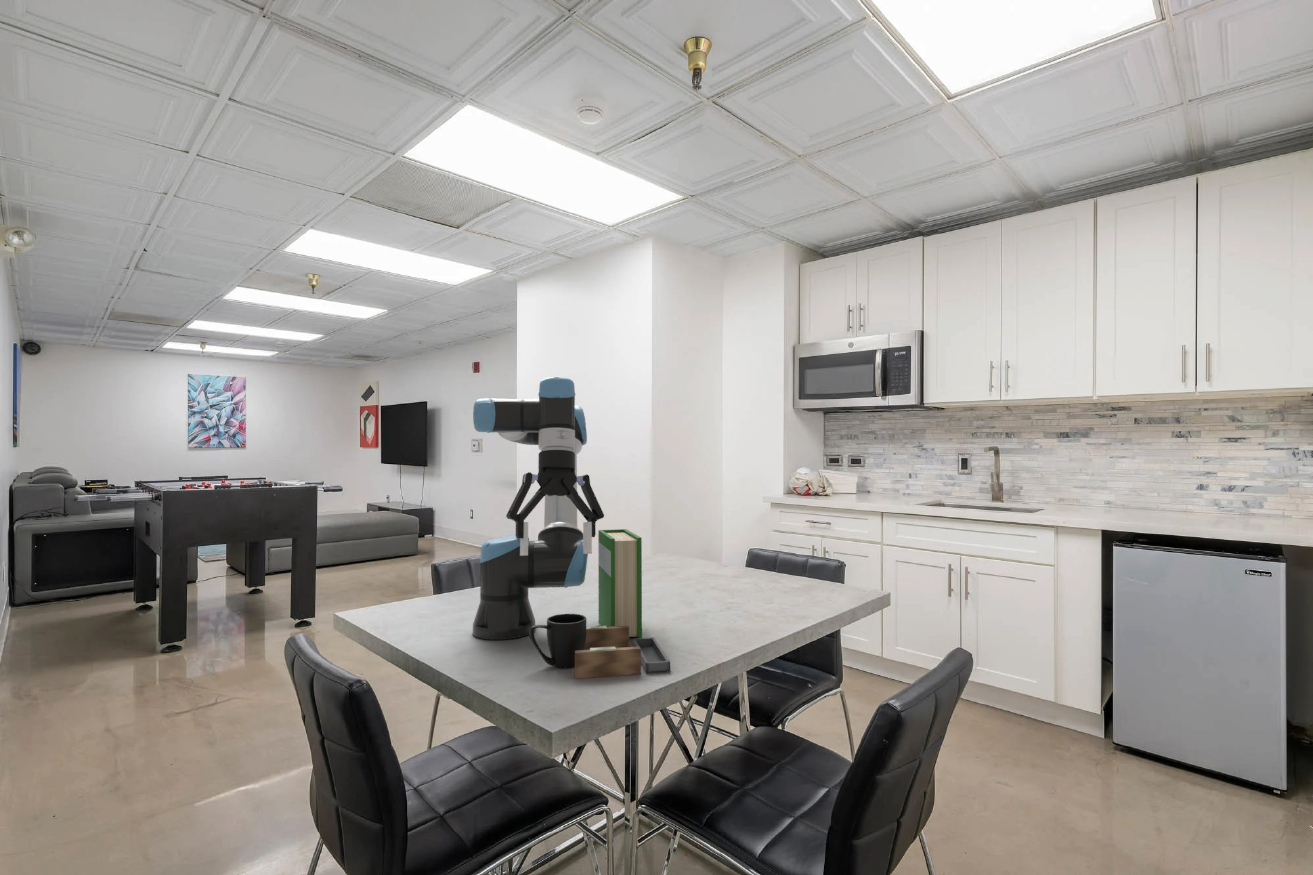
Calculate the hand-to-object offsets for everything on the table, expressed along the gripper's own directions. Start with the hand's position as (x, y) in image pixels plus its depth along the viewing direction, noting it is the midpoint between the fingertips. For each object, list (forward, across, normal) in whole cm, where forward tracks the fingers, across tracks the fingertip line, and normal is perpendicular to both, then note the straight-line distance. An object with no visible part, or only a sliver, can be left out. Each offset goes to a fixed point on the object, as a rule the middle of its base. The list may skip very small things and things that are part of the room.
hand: (556, 554), depth 126 cm
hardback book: (+19, +25, +23) cm, 39 cm away
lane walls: (+23, +12, +4) cm, 26 cm away
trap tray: (+22, +21, 0) cm, 31 cm away
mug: (+23, +3, +7) cm, 24 cm away
